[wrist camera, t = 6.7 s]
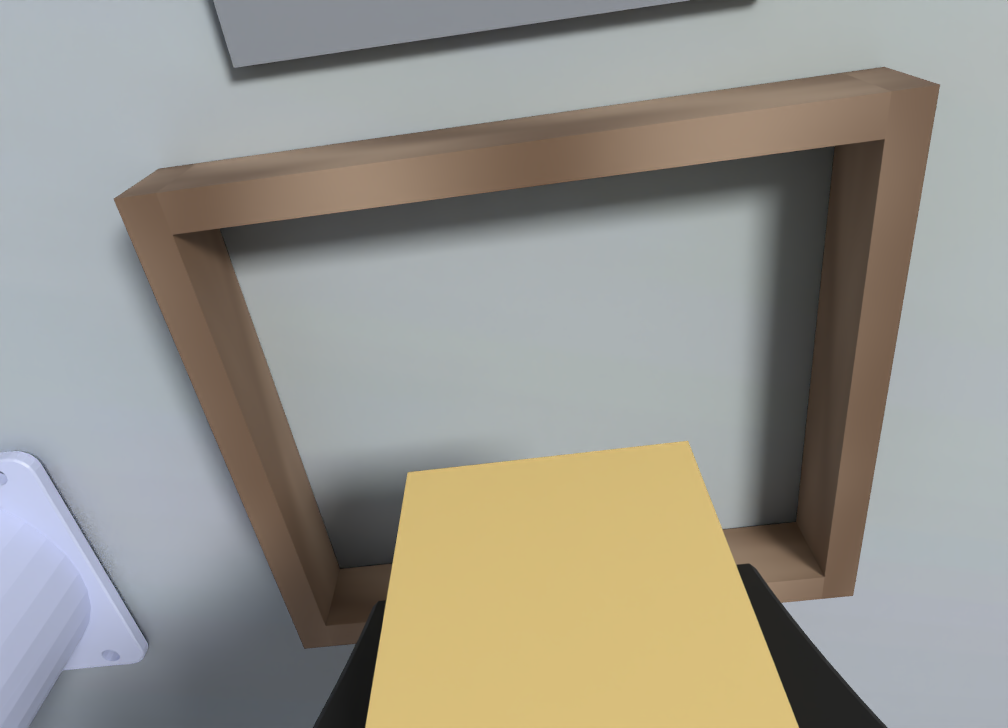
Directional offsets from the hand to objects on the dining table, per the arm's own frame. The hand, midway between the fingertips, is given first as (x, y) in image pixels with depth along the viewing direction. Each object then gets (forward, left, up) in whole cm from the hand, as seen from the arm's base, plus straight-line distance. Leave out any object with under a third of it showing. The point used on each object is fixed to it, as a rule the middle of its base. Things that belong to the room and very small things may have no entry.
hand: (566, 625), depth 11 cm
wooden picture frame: (0, 0, -7) cm, 7 cm away
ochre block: (0, 0, -1) cm, 1 cm away
